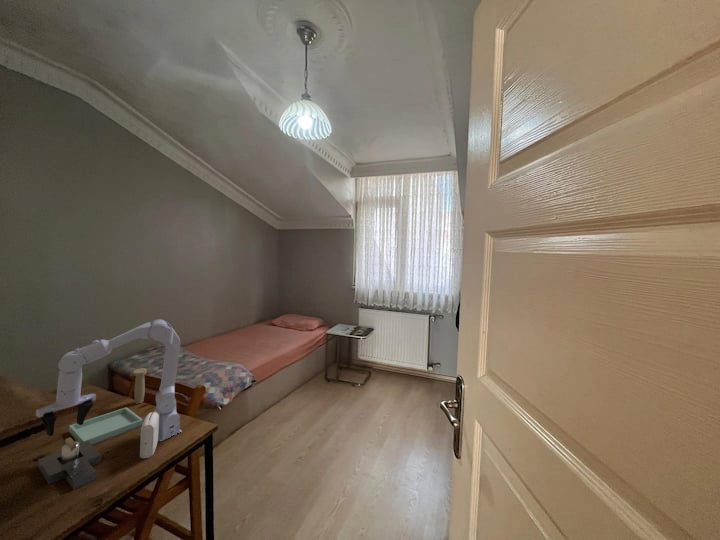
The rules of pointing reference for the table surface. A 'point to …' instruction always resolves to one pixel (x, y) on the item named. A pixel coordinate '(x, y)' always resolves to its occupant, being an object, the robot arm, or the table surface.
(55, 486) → the table surface
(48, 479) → the plate
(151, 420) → the photo printer
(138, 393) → the handle
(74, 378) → the robot arm
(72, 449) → the clear tall piece
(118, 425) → the tray
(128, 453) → the table surface
